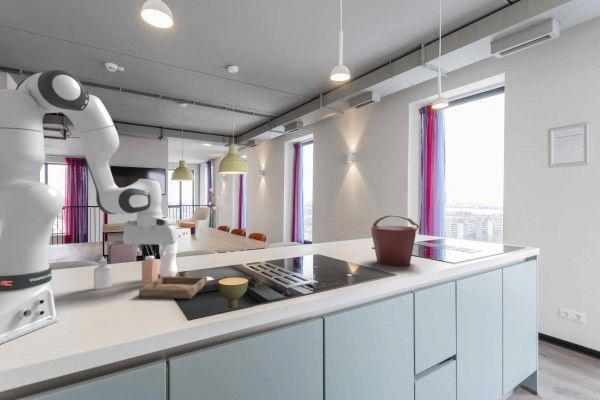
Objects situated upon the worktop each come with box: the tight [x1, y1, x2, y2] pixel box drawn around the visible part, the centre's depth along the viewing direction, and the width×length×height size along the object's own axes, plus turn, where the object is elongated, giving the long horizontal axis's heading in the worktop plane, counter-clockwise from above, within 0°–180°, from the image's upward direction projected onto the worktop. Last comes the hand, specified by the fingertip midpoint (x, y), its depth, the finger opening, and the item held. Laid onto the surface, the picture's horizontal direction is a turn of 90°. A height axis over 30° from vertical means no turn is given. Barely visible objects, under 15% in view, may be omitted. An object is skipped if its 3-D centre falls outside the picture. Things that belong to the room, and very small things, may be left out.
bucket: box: [371, 214, 420, 268], centre depth 156 cm, size 24×22×25 cm
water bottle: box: [158, 241, 178, 278], centre depth 128 cm, size 7×7×25 cm
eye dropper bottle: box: [93, 256, 113, 291], centre depth 114 cm, size 4×6×12 cm
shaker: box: [141, 255, 158, 288], centre depth 117 cm, size 4×4×11 cm
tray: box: [138, 276, 208, 300], centre depth 110 cm, size 16×18×3 cm
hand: (150, 255), depth 117 cm, fingers open, 8 cm apart
